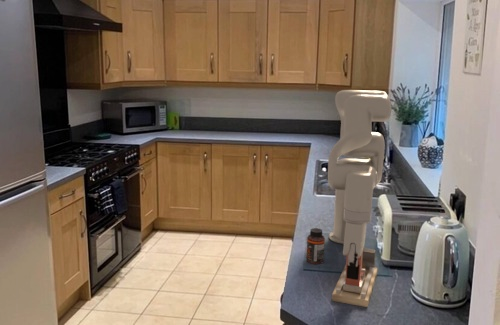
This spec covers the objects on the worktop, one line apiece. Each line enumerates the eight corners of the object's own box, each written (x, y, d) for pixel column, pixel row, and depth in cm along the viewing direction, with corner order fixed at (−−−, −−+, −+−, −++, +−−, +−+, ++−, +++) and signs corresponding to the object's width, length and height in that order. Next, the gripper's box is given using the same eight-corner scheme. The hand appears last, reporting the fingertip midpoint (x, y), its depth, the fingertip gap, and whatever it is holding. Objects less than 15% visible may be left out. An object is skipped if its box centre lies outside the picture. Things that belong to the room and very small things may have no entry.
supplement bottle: (303, 259, 169) (304, 227, 167) (318, 257, 171) (319, 226, 169) (311, 265, 164) (312, 233, 162) (326, 263, 166) (328, 231, 164)
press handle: (347, 279, 149) (349, 241, 146) (364, 282, 147) (366, 244, 145) (343, 290, 141) (345, 251, 139) (360, 293, 140) (363, 253, 137)
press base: (346, 268, 162) (347, 245, 160) (377, 273, 159) (378, 250, 157) (331, 300, 140) (333, 274, 138) (367, 307, 137) (369, 280, 135)
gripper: (348, 205, 146) (345, 263, 150) (338, 221, 131) (335, 285, 135) (374, 208, 144) (370, 267, 147) (367, 225, 129) (362, 290, 132)
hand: (353, 275), depth 141 cm, fingers closed on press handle, 3 cm apart
